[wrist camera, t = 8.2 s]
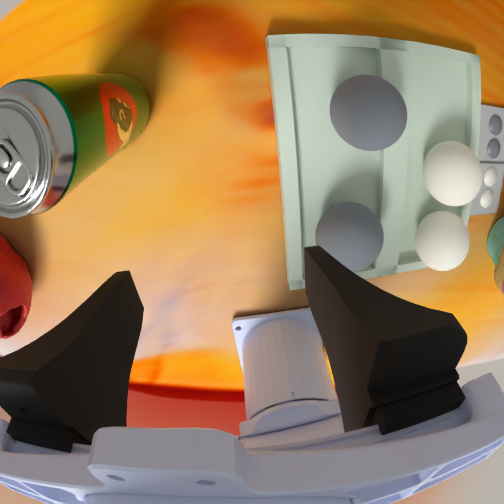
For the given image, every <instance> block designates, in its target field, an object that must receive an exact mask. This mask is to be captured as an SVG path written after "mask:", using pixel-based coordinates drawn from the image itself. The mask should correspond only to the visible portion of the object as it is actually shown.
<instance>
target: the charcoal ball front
mask: <svg viewBox="0 0 504 504" xmlns="http://www.w3.org/2000/svg"><path fill="white" fill-rule="evenodd" d="M330 118H331V122H332V124H333V126H334V129H335V130H336V132H337V133H338V135H339V136H340V137H341V138H342V139H343V140H344V141H345V142H347V143H348V144H349V145H351V146H353V147H355V148H357V149H361V150H365V151H378V150H383V149H385V148H388V147H390V146H391V145H393V144H394V143H395V142H396V141H398V139H399V138H400V137H401V136H402V134H403V132H404V130H405V127H406V124H407V108H406V105H405V102H404V99H403V97H402V96H401V94H400V92H399V91H398V90H397V89H396V88H395V87H394V86H393V85H392V84H391V83H389V82H388V81H386V80H385V79H383V78H380V77H378V76H374V75H357V76H353V77H351V78H349V79H347V80H345V81H344V82H342V83H341V84H340V85H339V86H338V87H337V89H336V90H335V92H334V93H333V95H332V98H331V102H330Z"/></svg>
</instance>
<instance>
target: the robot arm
mask: <svg viewBox="0 0 504 504" xmlns="http://www.w3.org/2000/svg"><path fill="white" fill-rule="evenodd" d="M304 264H305V290H306V294H307V298H308V302H309V306H310V307H309V308H302V309H296V310H289V311H282V312H275V313H268V314H260V315H253V316H245V317H237V318H234V319H233V320H232V328H233V332H234V337H235V341H236V346H237V350H238V355H239V359H240V363H241V368H242V372H243V376H244V390H245V404H246V418H247V421H245V422H241V423H240V435H239V436H233V435H232V434H231V433H227V432H224V431H221V430H217V429H211V428H196V427H195V428H136V427H126V414H127V396H128V386H129V378H130V372H131V368H132V364H133V360H134V356H135V352H136V348H137V344H138V340H139V336H140V332H141V328H142V320H143V311H144V307H143V305H142V302H141V300H140V297H139V295H138V292H137V290H136V287H135V284H134V282H133V279H132V276H131V274H130V271H121V272H116V273H115V274H113V275H112V276H111V277H110V278H109V279H108V280H107V281H105V282H104V283H103V284H102V285H101V286H100V287H99V288H98V289H97V290H96V291H95V292H94V293H93V294H92V295H91V296H90V297H89V298H88V299H87V300H86V301H85V302H84V303H82V304H81V305H80V306H79V307H78V308H77V309H76V310H75V311H74V312H73V313H72V314H70V315H69V316H68V317H67V318H66V319H64V320H63V321H62V322H61V323H59V324H58V325H57V326H55V327H54V328H53V329H51V330H50V331H48V332H47V333H45V334H44V335H42V336H41V337H39V338H38V339H36V340H35V341H33V342H31V343H30V344H28V345H26V346H24V347H22V348H21V349H19V350H17V351H15V352H13V353H10V354H8V355H6V356H3V357H1V358H0V406H1V407H2V408H3V409H4V410H5V411H6V412H7V413H8V414H9V415H10V416H11V417H12V418H11V420H10V423H8V422H7V421H5V420H3V419H0V483H1V484H2V485H4V486H6V487H7V488H9V489H11V490H14V491H16V492H18V493H21V494H23V495H26V496H28V497H31V498H33V499H36V500H38V501H41V502H44V503H46V504H391V503H393V502H396V501H399V500H401V499H404V498H406V497H409V496H411V495H413V494H416V493H418V492H420V491H423V490H425V489H427V488H429V487H431V486H433V485H435V484H437V483H440V482H442V481H444V480H446V479H448V478H450V477H452V476H454V475H456V474H458V473H460V472H462V471H464V470H466V469H467V468H469V467H471V466H473V465H475V464H477V463H479V462H480V461H482V460H484V459H486V458H487V457H489V456H490V455H491V454H492V453H493V452H494V451H495V450H496V449H497V448H499V447H500V446H501V445H502V444H503V443H504V393H503V391H502V389H501V388H500V386H499V384H498V383H497V381H496V379H495V378H494V376H493V374H492V373H488V374H485V375H483V376H481V377H478V378H476V379H474V380H471V381H469V382H468V383H466V384H465V385H463V386H462V387H461V388H460V387H459V385H458V383H457V380H458V379H459V374H458V373H457V371H456V369H455V368H456V366H457V364H458V362H459V360H460V358H461V356H462V354H463V352H464V350H465V347H466V345H467V334H466V332H465V330H464V329H463V328H462V326H461V325H460V323H459V322H458V321H457V319H456V318H455V316H454V315H453V314H452V313H447V312H443V311H439V310H434V309H430V308H427V307H423V306H420V305H417V304H414V303H411V302H409V301H406V300H403V299H401V298H399V297H396V296H394V295H392V294H390V293H388V292H385V291H383V290H382V289H380V288H378V287H376V286H374V285H372V284H371V283H369V282H367V281H366V280H364V279H363V278H361V277H360V276H358V275H357V274H355V273H354V272H352V271H351V270H349V269H348V268H347V267H345V266H344V265H343V264H341V263H340V262H339V261H338V260H336V259H335V258H334V257H333V256H331V255H330V254H329V253H328V252H327V251H325V250H324V249H323V248H322V247H320V246H319V245H317V246H310V247H304ZM238 326H240V327H239V328H238ZM323 343H324V346H325V349H326V352H327V355H328V358H329V361H330V365H331V369H332V373H333V378H334V382H335V386H336V391H337V395H338V399H337V396H336V392H335V389H334V386H333V382H332V379H331V375H330V372H329V369H328V365H327V362H326V359H325V355H324V352H323V349H322V344H323Z"/></svg>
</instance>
